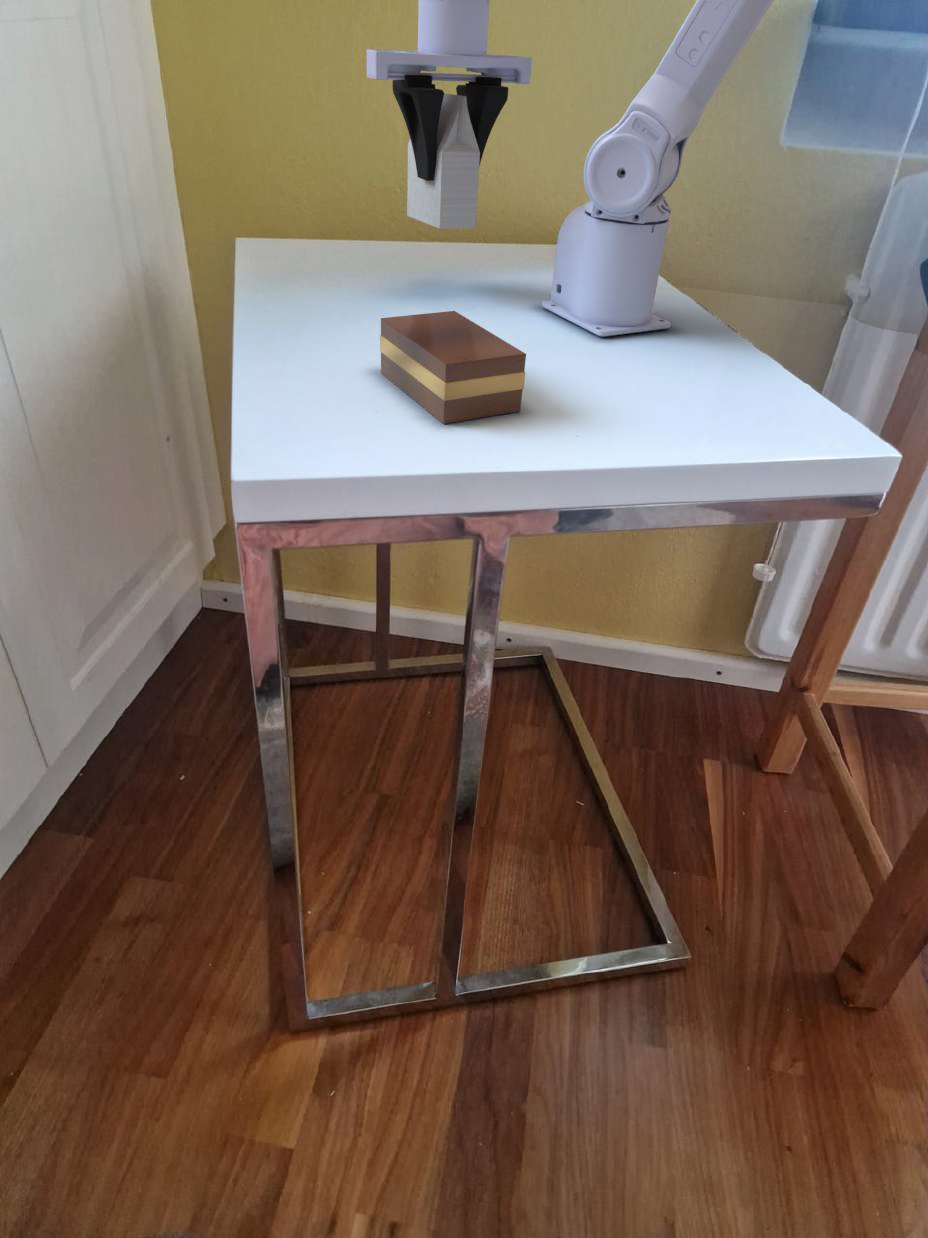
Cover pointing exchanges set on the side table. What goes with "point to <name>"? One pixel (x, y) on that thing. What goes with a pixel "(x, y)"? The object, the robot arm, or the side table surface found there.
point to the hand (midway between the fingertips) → (447, 178)
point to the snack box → (452, 366)
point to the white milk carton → (448, 172)
